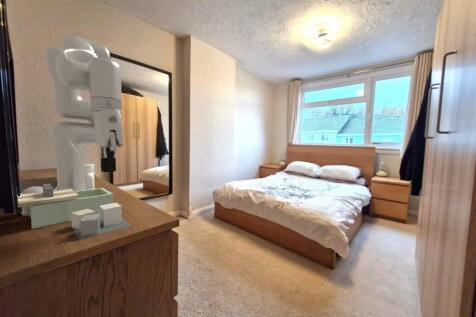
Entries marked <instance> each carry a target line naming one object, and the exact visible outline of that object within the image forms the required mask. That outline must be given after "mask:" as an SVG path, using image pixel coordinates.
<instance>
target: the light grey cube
mask: <svg viewBox="0 0 476 317" xmlns="http://www.w3.org/2000/svg"><path fill="white" fill-rule="evenodd" d="M80 224H81V237H84V236H90V235H96V234H99V231H100V228H101V221H100V214H92V215H84V216H83V218H82V220H81V221H80ZM96 236H97V235H96Z"/></svg>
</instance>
